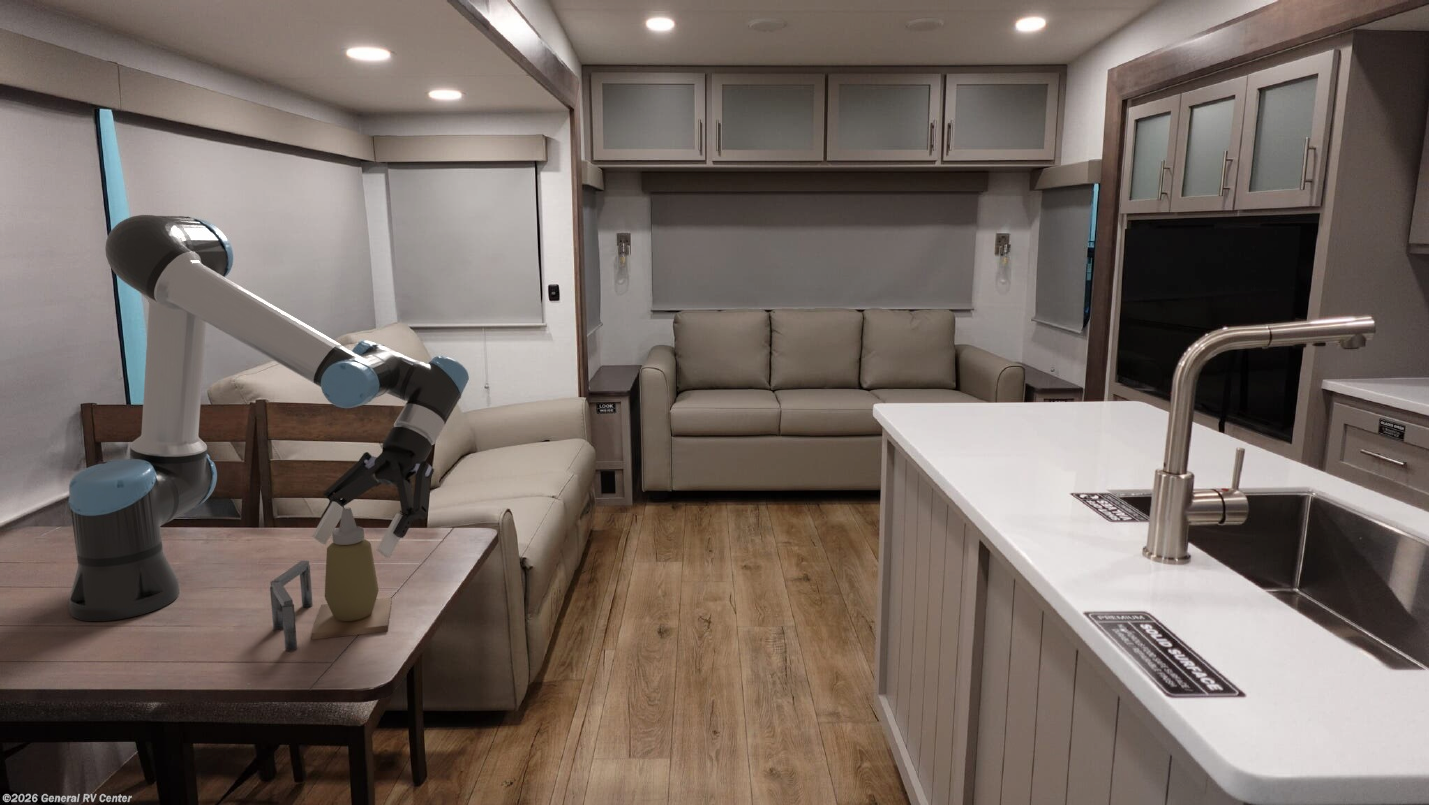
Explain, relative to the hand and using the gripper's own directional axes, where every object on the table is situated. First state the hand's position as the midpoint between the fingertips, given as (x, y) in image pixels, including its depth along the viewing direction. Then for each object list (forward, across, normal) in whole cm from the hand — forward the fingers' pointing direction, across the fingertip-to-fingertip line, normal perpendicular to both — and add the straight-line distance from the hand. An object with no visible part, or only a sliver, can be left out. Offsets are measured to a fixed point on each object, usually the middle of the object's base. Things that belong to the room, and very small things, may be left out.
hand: (350, 547), depth 134 cm
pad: (+9, 0, -9) cm, 13 cm away
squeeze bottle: (+8, 0, -9) cm, 12 cm away
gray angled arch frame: (+13, +8, -5) cm, 16 cm away
